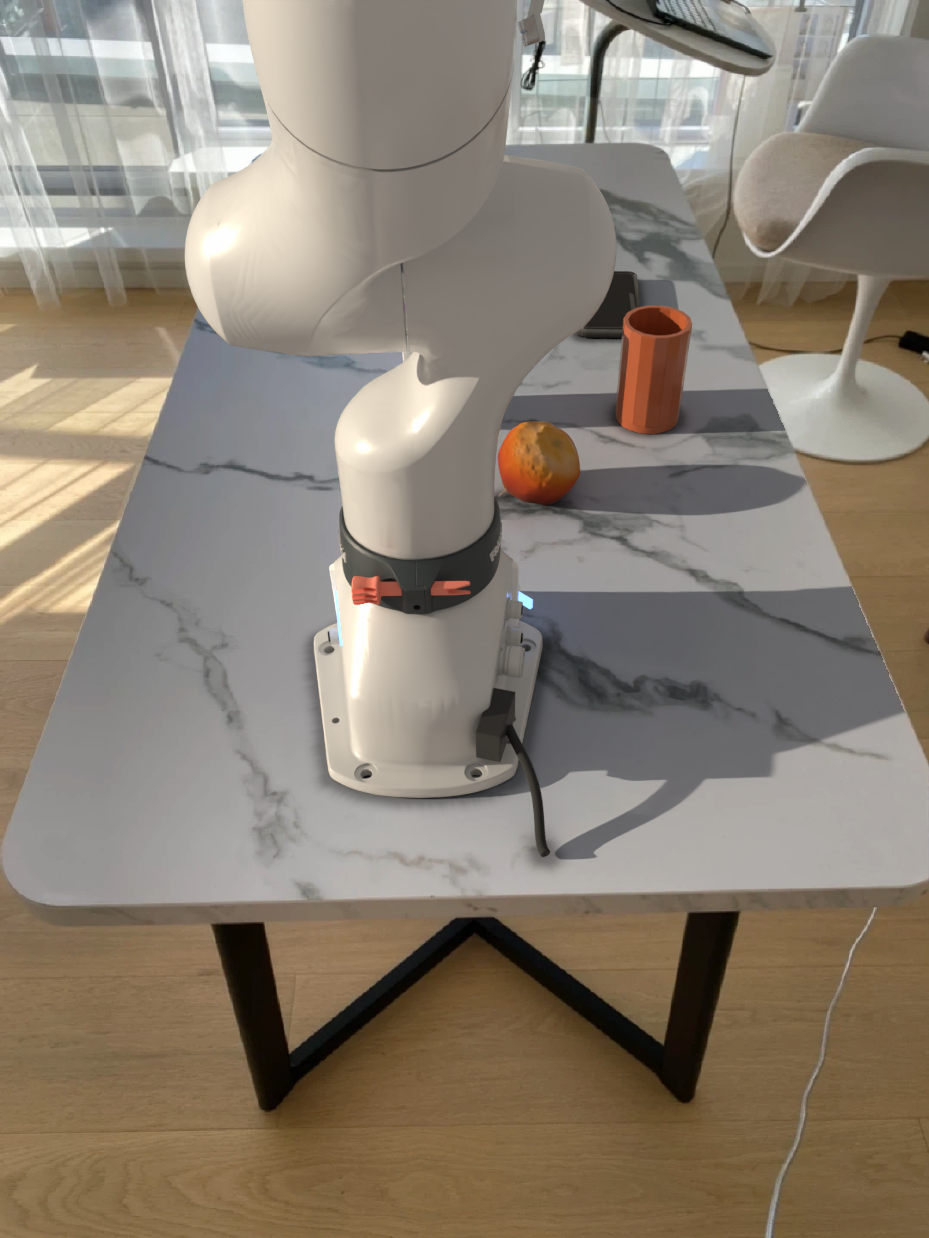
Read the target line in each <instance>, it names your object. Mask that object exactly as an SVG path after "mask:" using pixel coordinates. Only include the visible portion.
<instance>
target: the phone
mask: <svg viewBox="0 0 929 1238" xmlns="http://www.w3.org/2000/svg"><path fill="white" fill-rule="evenodd" d="M638 281H639V280H638V275H637V273H636V272H634V271H629V270H614V274H613V278H612V281H611V284H610V287H609V290H608V292H607V294H606V296H605V298H604V301H603V302H602V304H601V305H600V307H599V309H598V310H597V312H596V313H595V314H594V316H593V317H592V318H591V320H590V321H589V322H588V323H587V324H586V325H585V326H584V327H583V328H582V329H580V330H579V331H577V332H576V333H575V334H576V335H577V336H578V337H579V338H584V339H585V338H587V339H622V330H623V319H624V317H625V316H626V314H627V313H628V312H630V311H631V310H633V309H635V308H638V307H642V306H641V297H640V288H639V282H638Z"/></svg>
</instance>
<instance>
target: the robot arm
mask: <svg viewBox="0 0 929 1238" xmlns="http://www.w3.org/2000/svg"><path fill="white" fill-rule="evenodd" d="M241 1H242V9H243V11H242V12H243V16H244V21H245V28H246V33H247V38H248V42H249V47H250V52H251V56H252V60H253V64H254V70H255V72H256V77H257V81H258V84H259V88H260V91H261V94H262V95H261V96H262V98H263V102H264V106H265V110H266V115H267V119H268V124H269V129H270V130H269V131H270V136H271V143H269V145H268V147H267V148H266V149H264V151H263V152H262V154H260V155H259V156H258V157H257V158H256V159H255V160H254V161H252V162H251V163H249V164H248V165H247V166H245V167H243V168H242V169H240V170H239V171H237V172H235V173H233V174H230V175H229V176H227V177H225V178H222V179H219V180H217V181H215V182H213V183H212V184H210V185H209V187H208V188H207V189H206V190H205V192H204V193H203V194H202V196H201V198H200V199H199V201H198V203H197V204H196V206H195V208H194V210H193V212H192V214H191V217H190V221H189V223H188V227H187V232H186V236H185V242H184V243H185V244H184V266H185V274H186V279H187V282H188V285H189V290H190V292H191V296H192V299H193V300H194V302H195V304H196V306H197V308H198V310H199V312H200V313H201V315H202V316H203V318H204V320H205V321H206V322H207V323H208V325H209V326H210V327H211V329H212V330H213V331H214V332H215V333H216V334H217V335H218V336H219V337H220V338H221V339H223V340H224V341H225V342H226V343H227V344H228V345H230V346H232V347H237V348H244V349H248V350H257V351H262V352H268V353H274V354H282V355H289V356H299V357H324V356H343V355H346V356H347V355H363V354H364V355H365V354H382V353H402V352H406V351H407V333H408V346H409V352H413V353H412V354H411V355H410V356H409V357H408V358H407V359H406V360H405V361H404V362H403V361H402V362H401V363H400V364H398V365H397V366H394V367H393V368H392V369H389V370H388V371H386V372H385V373H382V374H381V375H379V376H377V377H375V378H374V379H372V380H370V381H368V383H366V384H365V385H364V386H362V388H360V390H359V391H357V392H356V393H355V395H354V396H353V397H352V398H351V399H350V401H349V402H348V403H347V405H346V406H345V407H344V409H343V411H342V412H341V414H340V416H339V419H338V421H337V424H336V428H335V432H334V451H335V457H336V465H337V473H338V480H339V487H340V488H339V489H340V495H341V503H342V505H341V507H340V510H339V515H338V516H339V517H338V518H339V520H338V523H339V525H338V526H339V528H338V542H339V551H340V556H339V557H338V558H337V559H335V560H334V561H333V563H332V564H330V565H329V567H328V569H329V575H330V582H331V588H332V594H333V595H332V596H333V601H334V607H335V614H336V620H337V622H335V623H332V624H330V625H327V627H324V628H323V629H321V630H320V631H318V632H317V633H316V634H315V635H314V637H313V655H314V662H315V663H314V664H315V670H316V680H317V688H318V696H319V704H320V705H319V707H320V713H321V721H322V730H323V739H324V740H323V741H324V748H325V757H326V763H327V764H326V765H327V771H328V774H329V776H330V778H331V779H332V780H333V781H335V782H337V783H338V784H341V785H343V786H344V787H347V788H350V789H351V790H355V791H358V792H362V793H366V794H370V795H377V796H383V797H393V798H411V799H412V798H414V799H415V798H417V799H424V798H445V797H454V796H455V797H456V796H463V795H467V794H473V793H477V792H481V791H485V790H488V789H492V788H494V787H496V786H499V785H500V784H503V783H504V782H506V781H508V780H510V779H512V778H513V777H514V776H515V774H516V772H517V769H518V765H519V763H520V765H521V768H522V770H523V772H524V774H525V777H526V780H527V781H526V782H527V784H528V787H529V791H530V796H531V801H532V802H531V803H532V812H533V825H534V839H535V845H536V849H537V853H538V854H539V856H540V857H542V858H546V857H547V856H549V855H550V854H551V850H550V849H549V847H548V844H547V837H546V827H545V826H546V824H545V810H544V802H543V796H542V795H543V794H542V791H541V786H540V783H539V779H538V777H537V773H536V771H535V768H534V765H533V763H532V761H531V759H530V757H529V755H528V753H527V751H526V749H525V747H524V745H523V743H524V737H525V733H526V728H527V724H528V718H529V714H530V709H531V705H532V699H533V696H534V695H533V694H534V691H535V687H536V686H535V685H536V681H537V676H538V672H539V667H540V662H541V657H542V652H543V648H544V643H543V635H542V633H541V632H540V631H539V629H538V628H536V627H534V626H532V625H530V624H528V623H526V622H524V621H522V620H521V619H522V618H523V611H524V607H525V608H527V609H528V610H531V609H533V607H534V605H533V604H534V599H533V598H531V597H529V596H528V595H526V594H524V593H523V592H521V591H520V581H519V579H520V578H519V573H520V571H519V570H520V569H519V563H518V562H516V561H515V560H514V559H513V558H512V556H509V555H508V554H507V553H506V552H505V551H504V549H503V548H501V547H502V543H501V541H502V538H503V537H502V535H503V524H502V523H503V522H502V517H501V511H500V505H499V502H498V500H497V497H496V496H495V481H496V480H495V479H496V478H495V477H496V476H495V475H496V462H497V451H498V442H499V435H500V429H501V426H502V422H503V418H504V415H505V413H506V411H507V408H508V406H509V404H510V402H511V401H512V400H513V399H512V398H513V397H514V395H515V394H516V392H517V390H518V389H519V387H520V386H521V384H522V383H523V381H524V380H525V379H526V377H527V376H528V375H529V374H530V372H531V371H532V370H533V369H534V368H535V367H536V365H538V363H539V362H541V360H542V359H543V358H545V357H546V356H547V355H548V354H549V353H550V352H551V351H552V350H553V349H555V348H556V347H557V346H558V345H559V344H561V343H563V342H564V341H565V340H566V339H568V338H569V337H571V336H573V335H575V334H576V332H577V331H579V330H580V329H582V328H583V327H584V326H585V325H586V324H587V323H588V322H589V321H590V320H591V318H592V317H593V316H594V314H595V313H596V312H597V310H598V309H599V307H600V305H601V304H602V302H603V301H604V298H605V296H606V294H607V292H608V290H609V287H610V284H611V281H612V278H613V274H614V271H615V268H616V264H617V233H616V229H615V228H616V227H615V223H614V219H613V216H612V213H611V210H610V207H609V205H608V203H607V201H606V199H605V197H604V194H603V193H602V192H601V190H600V188H599V187H598V185H597V184H596V183H595V181H594V180H593V179H592V178H591V177H590V176H589V174H587V173H586V171H584V169H582V168H581V167H579V166H574V165H569V164H564V163H559V162H555V161H554V162H553V161H548V160H544V159H536V158H530V157H524V156H517V155H512V154H511V155H509V154H506V148H507V147H506V146H507V136H508V127H509V118H510V117H509V116H510V108H511V98H512V88H513V80H514V79H513V78H514V69H515V58H516V46H517V44H516V43H517V29H518V31H519V33H520V34H521V42H522V45H523V47H524V48H525V47H529V46H531V45H535V44H537V43H541V42H543V41H545V40H546V33H545V28H544V24H543V19H542V16H541V14H542V12H543V9H544V5H545V0H530V2H529V6H528V10H527V11H528V12H527V17H525V18H522V19H521V20H520V21H518V0H241ZM517 26H518V28H517ZM405 305H406V308H405ZM406 319H407V328H406ZM476 775H478V777H474V776H476ZM367 776H370V777H367ZM364 777H367V778H364Z"/></svg>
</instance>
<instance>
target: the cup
mask: <svg viewBox="0 0 929 1238" xmlns="http://www.w3.org/2000/svg"><path fill="white" fill-rule="evenodd" d="M692 328H693V322H692V318H691V317H690V316H689V315H688V314H687V313H686V312H684V311H683V310H680V309H678V308H675V307H672V306H667V305H660V304H658V305H657V304H655V305H654V304H653V305H642V306H641V307H638V308H635V309H633V310H631V311H630V312H628V313H627V314H626V316H625V317H624V319H623V330H622V338H621V340H620V342H621V343H620V353H619V354H620V355H619V366H618V376H617V386H616V387H617V389H616V396H615V397H616V398H615V419H616V421H617V423H618V424H619V425H620V426H622V427H623V428H624V429H626V430H628V431H630V432H634V433H637V434H644V435H655V434H662V433H665V432H668V431H670V430H671V429H673V428H674V427H675V426H676V425H677V424H678V422H679V417H680V414H681V407H682V400H683V394H684V386H685V379H686V372H687V365H688V356H689V350H690V344H691V343H690V342H691V337H692V331H693V330H692Z"/></svg>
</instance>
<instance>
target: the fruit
mask: <svg viewBox="0 0 929 1238" xmlns="http://www.w3.org/2000/svg"><path fill="white" fill-rule="evenodd" d="M497 463H498V465H497V466H498V472H499V476H500V479H501V483H502V486H503V490H502V491H500V493H498V498H500V497H502V496H503V495H505V494H509V495H510V496H512V497H514V498H516V499H517V500H520V501H521V502H524V503H529V504H535V505H541V506H545V507H546V506H550V505H553V504H555V503H557V502H559V501H560V500H562V499H563V498H564V497H565V496H566V495H567V494H568V493H569V492H570V491H571V490H572V489H573V488H574V486H575V485H576V483H577V481H578V480H579V478H580V476H581V464H580V457H579V452H578V450H577V447H576V444H575V442H574V440H573V439H572V437H571V436H570V435H569V434H568V433H567V432H566V431H565V430H563V429H562V428H559V427H557V426H555V425H554V424H553V423H551V422H548V421H524V422H521V423H519V424H517V425H516V426H515V427H513V428H512V429H511V430H509V431H508V433H507V434H506V436H505V438H504V439H503V441H502V443H501V445H500V447H499V449H498V453H497Z"/></svg>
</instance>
